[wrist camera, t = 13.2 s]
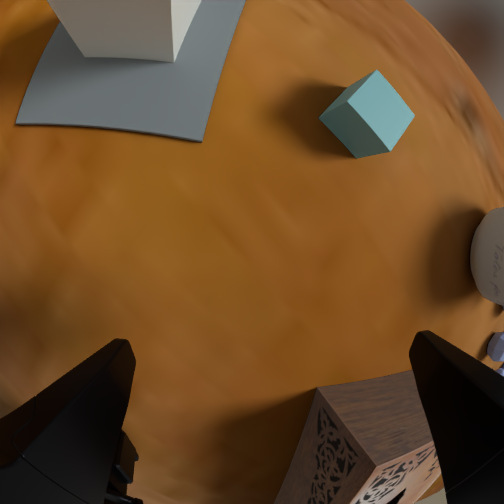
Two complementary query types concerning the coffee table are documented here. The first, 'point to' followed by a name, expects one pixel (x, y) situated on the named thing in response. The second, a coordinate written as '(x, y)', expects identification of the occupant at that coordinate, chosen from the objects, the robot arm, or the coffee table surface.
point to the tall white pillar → (127, 26)
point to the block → (368, 116)
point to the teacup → (489, 256)
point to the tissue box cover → (363, 446)
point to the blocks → (497, 349)
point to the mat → (134, 82)
